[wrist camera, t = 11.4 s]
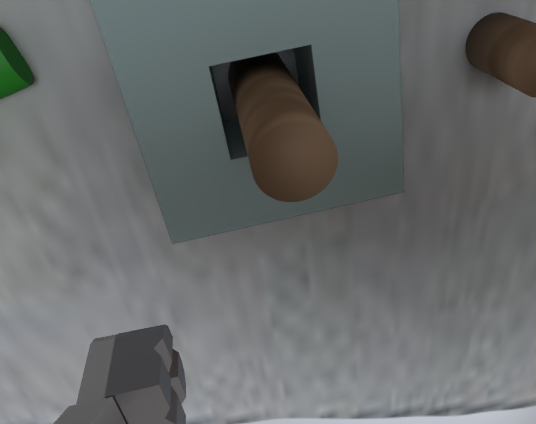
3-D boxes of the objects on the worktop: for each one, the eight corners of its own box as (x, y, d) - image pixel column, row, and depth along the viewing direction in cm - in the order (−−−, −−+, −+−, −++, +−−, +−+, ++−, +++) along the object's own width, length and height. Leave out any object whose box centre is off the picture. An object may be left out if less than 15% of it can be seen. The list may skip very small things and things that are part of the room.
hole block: (357, -79, 23) (395, -77, 19) (373, 152, 30) (404, 191, 26) (104, -26, 23) (85, -13, 19) (174, 195, 29) (172, 243, 25)
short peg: (521, 7, 27) (584, 25, 22) (516, 63, 28) (575, 90, 24) (466, 19, 27) (520, 39, 22) (464, 74, 28) (514, 103, 24)
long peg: (280, 40, 26) (333, 113, 16) (288, 96, 27) (341, 191, 18) (222, 52, 26) (243, 133, 16) (234, 107, 27) (260, 210, 18)
